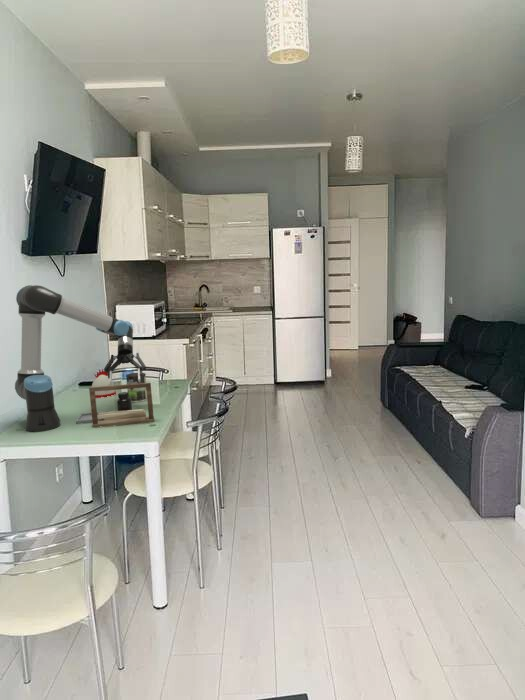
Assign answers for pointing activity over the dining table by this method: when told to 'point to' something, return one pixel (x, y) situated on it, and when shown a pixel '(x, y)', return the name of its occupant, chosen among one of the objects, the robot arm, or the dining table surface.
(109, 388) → the walnut rack
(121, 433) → the dining table surface
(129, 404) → the supplement bottle
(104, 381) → the kitchen timer
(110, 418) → the offcut stack
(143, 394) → the coffee can
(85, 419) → the grey tray
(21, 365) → the robot arm
